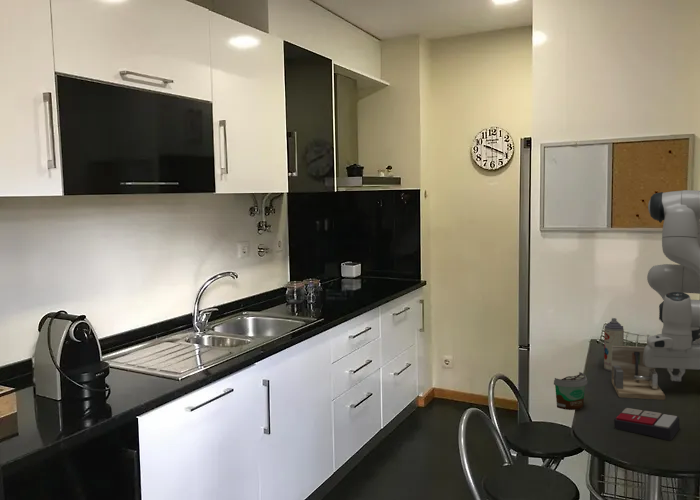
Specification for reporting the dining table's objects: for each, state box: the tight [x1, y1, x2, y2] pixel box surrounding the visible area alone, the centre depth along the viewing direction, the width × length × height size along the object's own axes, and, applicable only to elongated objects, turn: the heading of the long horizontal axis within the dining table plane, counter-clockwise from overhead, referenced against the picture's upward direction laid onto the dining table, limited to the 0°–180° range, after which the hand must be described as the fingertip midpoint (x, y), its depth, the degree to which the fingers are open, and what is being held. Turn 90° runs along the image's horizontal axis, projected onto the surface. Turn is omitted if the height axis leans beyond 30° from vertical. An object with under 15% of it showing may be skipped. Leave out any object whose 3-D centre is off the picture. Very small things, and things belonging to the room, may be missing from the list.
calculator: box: [613, 407, 681, 442], centre depth 173 cm, size 11×4×15 cm
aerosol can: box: [603, 317, 625, 373], centre depth 228 cm, size 7×7×20 cm
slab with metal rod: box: [634, 369, 658, 389], centre depth 205 cm, size 8×7×5 cm
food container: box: [553, 371, 588, 411], centre depth 191 cm, size 12×6×10 cm, turn 117°
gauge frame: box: [611, 345, 666, 401], centre depth 204 cm, size 16×14×14 cm
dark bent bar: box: [634, 352, 640, 381], centre depth 208 cm, size 3×2×10 cm, turn 164°
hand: (675, 380), depth 201 cm, fingers closed
